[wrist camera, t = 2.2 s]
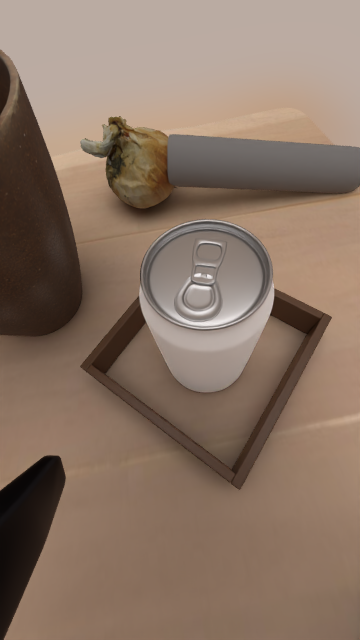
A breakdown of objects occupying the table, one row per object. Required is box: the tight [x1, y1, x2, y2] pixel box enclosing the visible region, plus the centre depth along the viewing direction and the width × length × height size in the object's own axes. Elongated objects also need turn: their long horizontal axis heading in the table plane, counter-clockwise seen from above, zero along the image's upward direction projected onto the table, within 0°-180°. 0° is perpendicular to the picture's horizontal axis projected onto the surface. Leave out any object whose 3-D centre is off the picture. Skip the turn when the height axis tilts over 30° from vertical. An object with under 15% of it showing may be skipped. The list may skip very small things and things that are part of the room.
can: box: [139, 219, 274, 392], centre depth 17 cm, size 6×6×12 cm
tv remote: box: [167, 134, 360, 193], centre depth 26 cm, size 4×20×2 cm
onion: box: [81, 116, 176, 208], centre depth 27 cm, size 8×8×8 cm
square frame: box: [80, 289, 332, 490], centre depth 21 cm, size 13×13×3 cm
